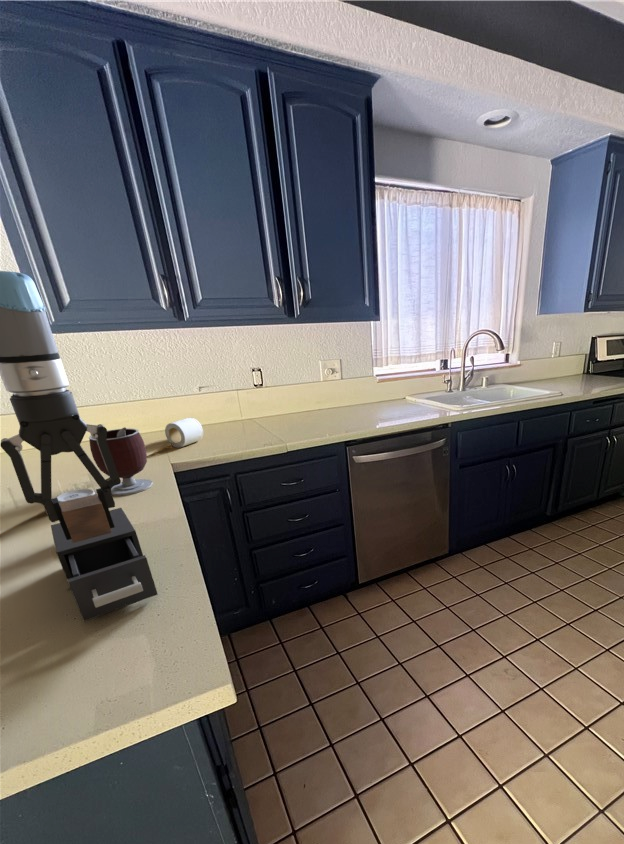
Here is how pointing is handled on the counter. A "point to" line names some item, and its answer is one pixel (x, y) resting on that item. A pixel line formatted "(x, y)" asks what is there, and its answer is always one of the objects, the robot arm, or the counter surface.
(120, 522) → the cabinet
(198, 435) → the toilet paper
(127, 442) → the mate gourd
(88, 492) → the canned food
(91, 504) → the block
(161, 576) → the counter surface
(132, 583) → the drawer
